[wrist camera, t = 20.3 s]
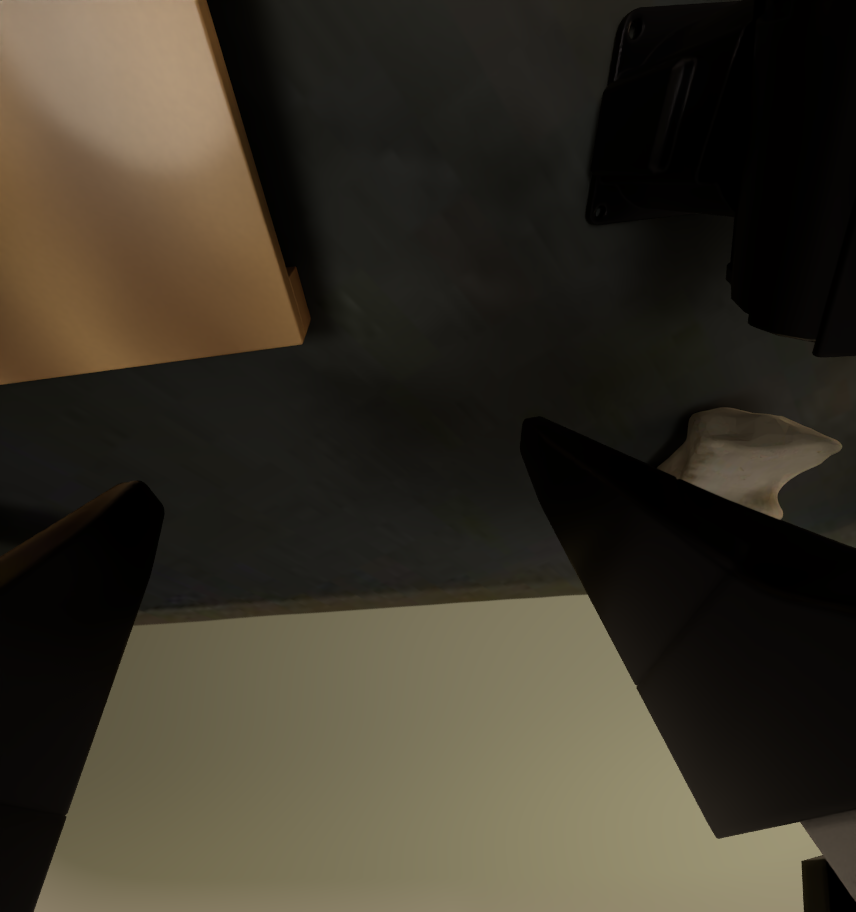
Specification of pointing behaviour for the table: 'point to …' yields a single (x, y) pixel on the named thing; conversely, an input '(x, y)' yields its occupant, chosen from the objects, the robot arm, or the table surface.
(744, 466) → the ceramic sculpture
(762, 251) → the robot arm
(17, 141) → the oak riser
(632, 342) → the table surface
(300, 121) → the table surface
